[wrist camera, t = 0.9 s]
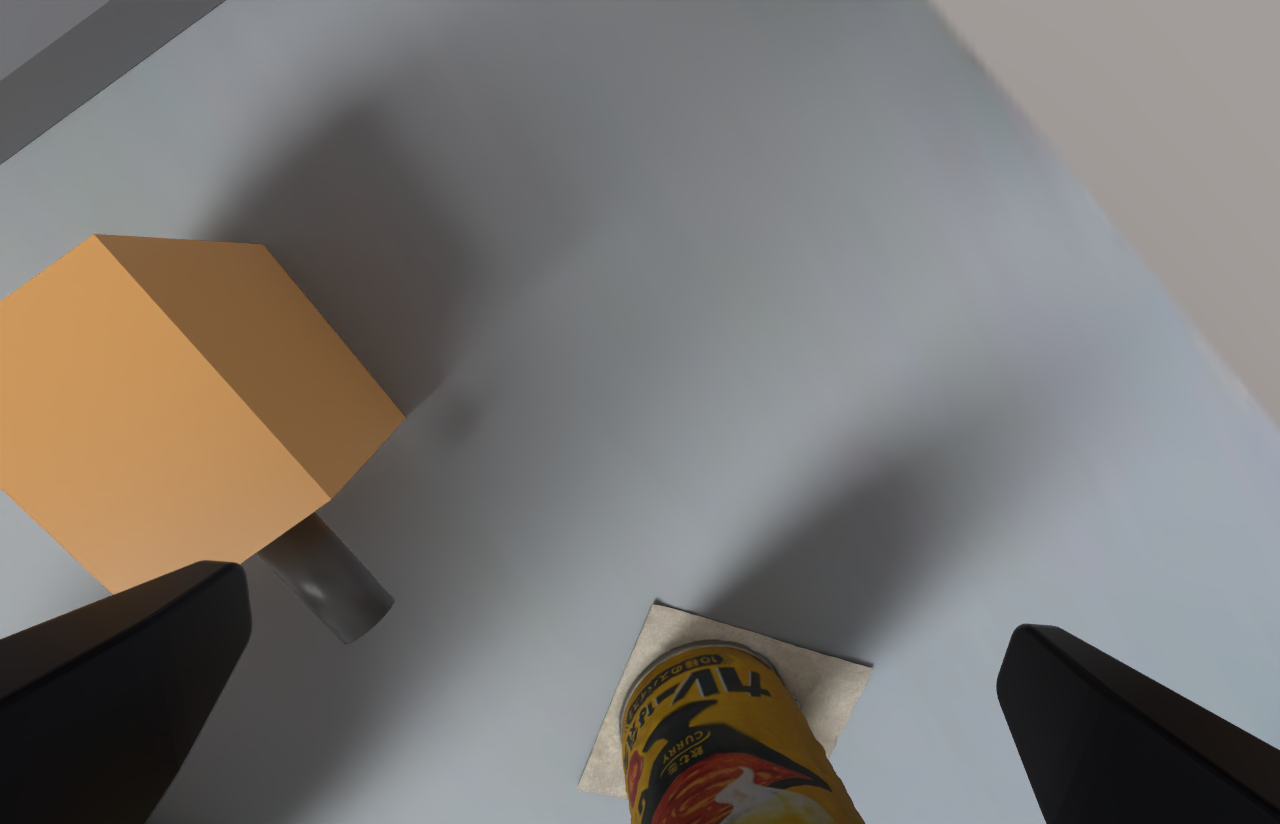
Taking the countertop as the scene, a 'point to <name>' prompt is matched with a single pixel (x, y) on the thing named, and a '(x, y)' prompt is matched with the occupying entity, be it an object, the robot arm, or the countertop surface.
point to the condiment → (725, 728)
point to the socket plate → (75, 54)
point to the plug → (187, 418)
